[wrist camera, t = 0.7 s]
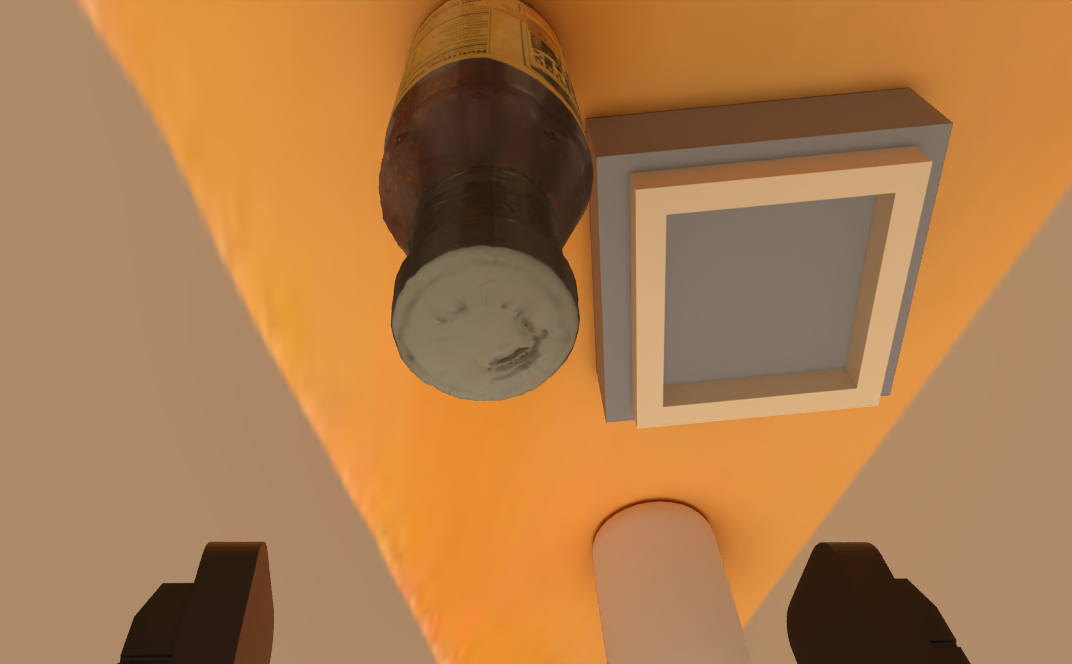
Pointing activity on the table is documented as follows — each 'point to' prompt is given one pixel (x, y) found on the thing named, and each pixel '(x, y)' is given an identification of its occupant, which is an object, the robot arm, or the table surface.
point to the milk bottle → (665, 589)
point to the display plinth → (758, 253)
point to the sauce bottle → (485, 200)
